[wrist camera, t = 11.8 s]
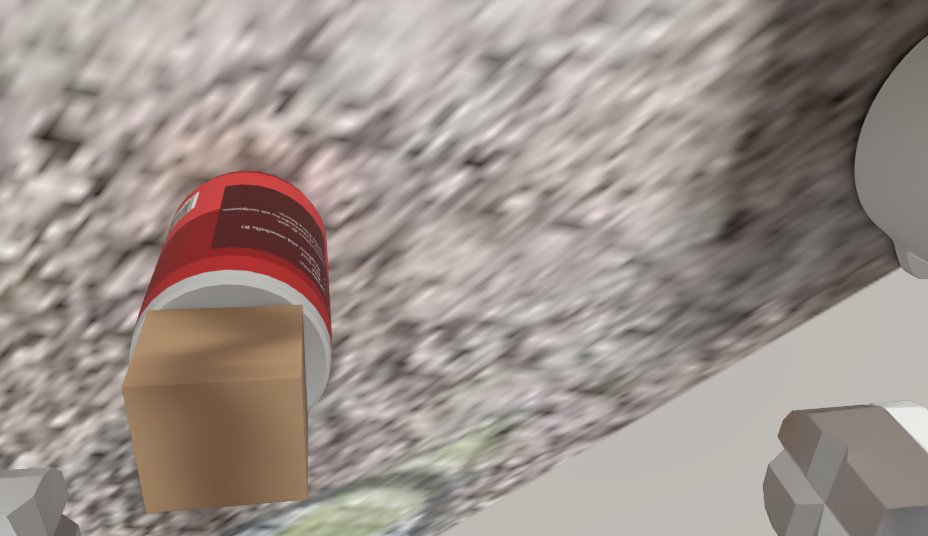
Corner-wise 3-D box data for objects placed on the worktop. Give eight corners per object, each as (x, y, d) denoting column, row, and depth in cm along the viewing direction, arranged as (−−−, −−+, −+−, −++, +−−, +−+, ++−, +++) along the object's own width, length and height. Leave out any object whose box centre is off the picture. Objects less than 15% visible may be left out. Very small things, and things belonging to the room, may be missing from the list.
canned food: (187, 311, 40) (150, 456, 31) (156, 170, 36) (103, 288, 27) (333, 296, 41) (341, 433, 32) (318, 159, 37) (322, 269, 28)
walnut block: (302, 304, 29) (301, 377, 25) (307, 417, 31) (307, 499, 27) (148, 310, 28) (121, 387, 24) (167, 426, 30) (146, 513, 26)
